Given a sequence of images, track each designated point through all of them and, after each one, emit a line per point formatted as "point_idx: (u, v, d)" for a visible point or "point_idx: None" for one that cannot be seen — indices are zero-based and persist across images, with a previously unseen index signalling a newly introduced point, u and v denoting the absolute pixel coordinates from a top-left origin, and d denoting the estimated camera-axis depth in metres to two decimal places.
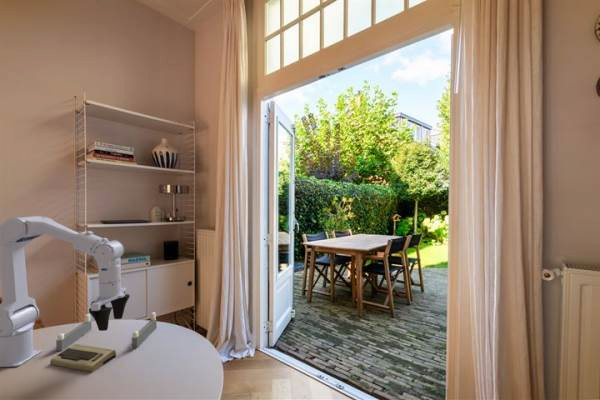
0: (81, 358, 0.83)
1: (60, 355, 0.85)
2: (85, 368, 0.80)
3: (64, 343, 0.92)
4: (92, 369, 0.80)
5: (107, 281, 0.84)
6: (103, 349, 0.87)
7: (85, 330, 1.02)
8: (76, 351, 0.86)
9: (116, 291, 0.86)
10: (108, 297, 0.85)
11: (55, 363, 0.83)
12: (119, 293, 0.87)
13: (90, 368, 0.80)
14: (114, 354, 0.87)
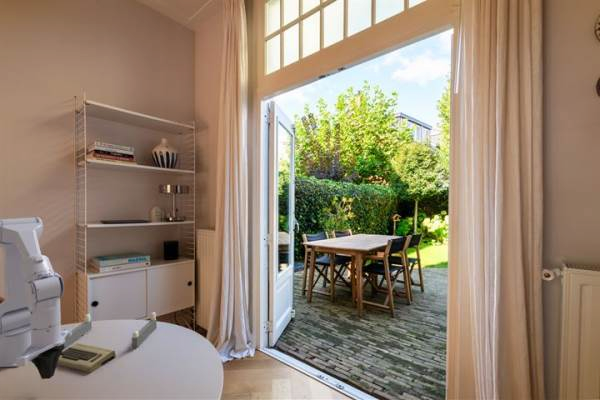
0: (80, 358, 0.83)
1: (61, 354, 0.85)
2: (83, 368, 0.80)
3: (64, 343, 0.92)
4: (90, 370, 0.80)
5: (33, 327, 0.69)
6: (103, 349, 0.87)
7: (85, 330, 1.02)
8: (77, 351, 0.86)
9: (53, 338, 0.71)
10: (41, 346, 0.69)
11: None
12: (57, 340, 0.72)
13: (88, 369, 0.80)
14: (113, 355, 0.86)
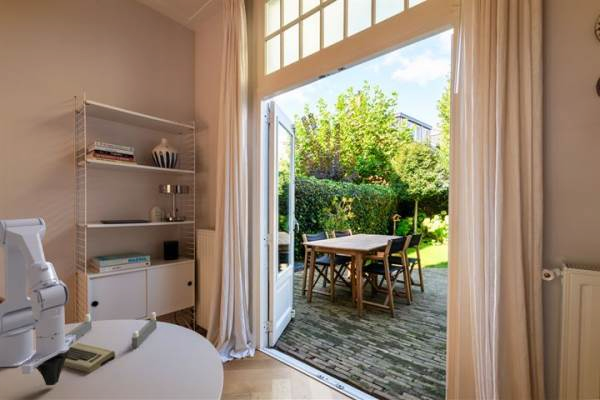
0: (80, 358, 0.83)
1: None
2: (83, 369, 0.80)
3: None
4: (89, 370, 0.79)
5: (38, 335, 0.71)
6: (103, 350, 0.87)
7: (85, 330, 1.02)
8: (77, 350, 0.86)
9: (57, 345, 0.72)
10: (46, 354, 0.71)
11: None
12: (61, 347, 0.73)
13: (87, 369, 0.79)
14: (113, 355, 0.86)
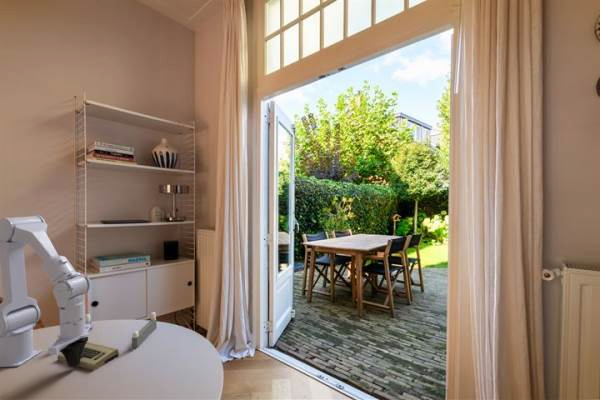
0: (85, 356, 0.84)
1: None
2: (87, 366, 0.81)
3: None
4: (93, 368, 0.81)
5: (65, 321, 0.78)
6: (107, 348, 0.88)
7: None
8: None
9: (79, 331, 0.80)
10: (69, 338, 0.78)
11: (61, 359, 0.85)
12: (82, 332, 0.81)
13: (91, 367, 0.81)
14: (117, 353, 0.87)
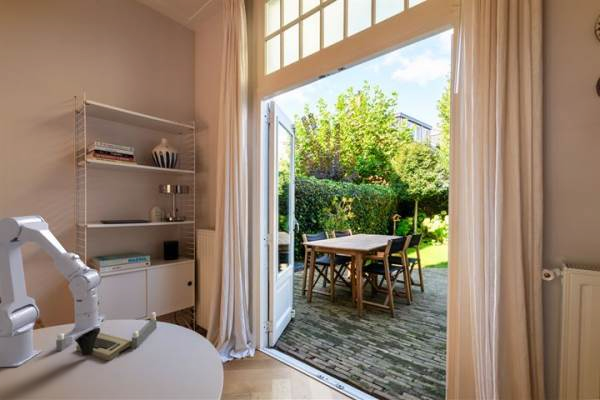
0: (101, 346, 0.89)
1: None
2: (103, 356, 0.86)
3: (64, 343, 0.92)
4: (108, 358, 0.85)
5: (82, 312, 0.84)
6: (121, 339, 0.92)
7: None
8: (98, 339, 0.92)
9: (92, 322, 0.86)
10: (84, 328, 0.84)
11: (80, 349, 0.90)
12: (95, 323, 0.87)
13: (107, 356, 0.85)
14: (130, 345, 0.92)
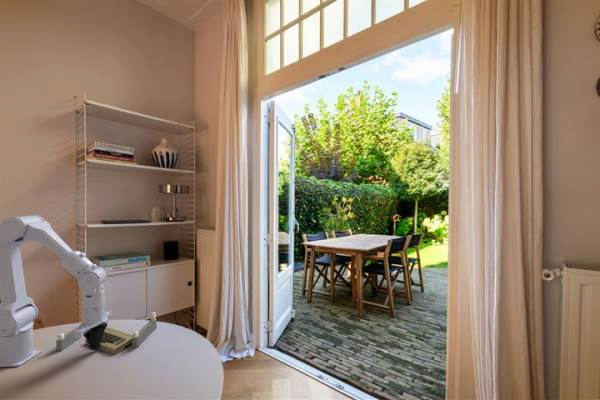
0: (108, 341, 0.93)
1: None
2: (109, 350, 0.89)
3: (64, 343, 0.92)
4: (114, 352, 0.88)
5: (92, 307, 0.88)
6: (127, 335, 0.96)
7: None
8: (106, 334, 0.96)
9: (100, 317, 0.89)
10: (91, 323, 0.87)
11: None
12: (103, 318, 0.90)
13: (112, 351, 0.89)
14: None
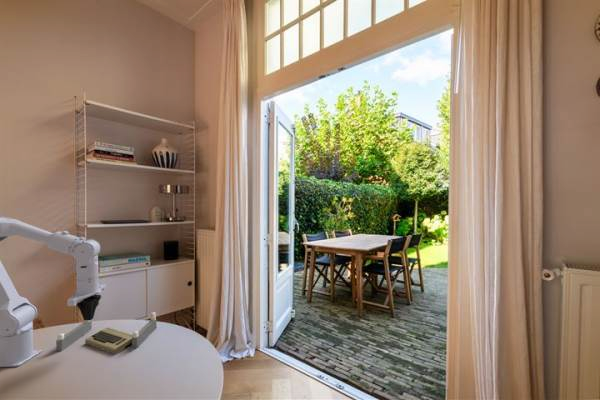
0: (108, 341, 0.93)
1: (93, 336, 0.96)
2: (109, 350, 0.89)
3: (64, 343, 0.92)
4: (115, 352, 0.89)
5: (87, 278, 0.89)
6: (127, 334, 0.96)
7: (85, 330, 1.02)
8: (106, 334, 0.96)
9: (93, 288, 0.90)
10: (85, 293, 0.88)
11: (88, 343, 0.94)
12: (96, 290, 0.91)
13: (113, 351, 0.89)
14: None
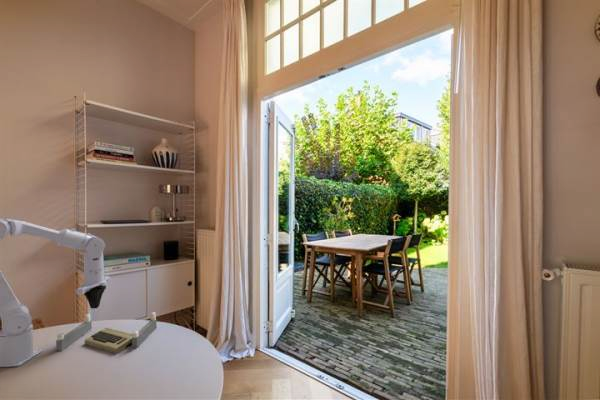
0: (108, 340, 0.93)
1: (93, 336, 0.96)
2: (111, 350, 0.90)
3: (64, 343, 0.92)
4: (116, 351, 0.89)
5: (98, 269, 0.99)
6: (128, 334, 0.96)
7: (85, 330, 1.02)
8: (106, 334, 0.96)
9: (99, 279, 0.99)
10: (92, 284, 0.98)
11: (88, 343, 0.94)
12: (102, 280, 1.00)
13: (114, 350, 0.89)
14: None
